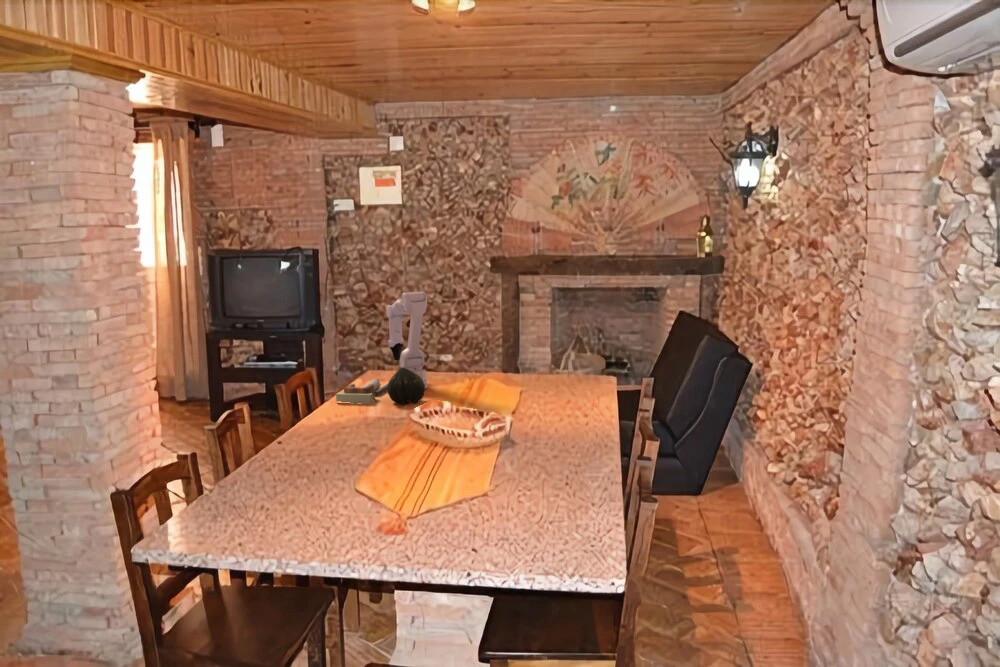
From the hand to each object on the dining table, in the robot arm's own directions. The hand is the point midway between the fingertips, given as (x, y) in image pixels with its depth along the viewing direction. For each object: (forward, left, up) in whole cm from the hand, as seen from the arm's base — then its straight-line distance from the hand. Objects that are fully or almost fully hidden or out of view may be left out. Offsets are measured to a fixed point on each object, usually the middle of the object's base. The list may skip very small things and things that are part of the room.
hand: (397, 360), depth 354 cm
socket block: (+4, +37, -10) cm, 38 cm away
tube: (+4, +26, -11) cm, 28 cm away
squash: (-17, +38, -11) cm, 43 cm away
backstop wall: (+4, +42, -10) cm, 43 cm away
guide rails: (+4, +16, -10) cm, 20 cm away
